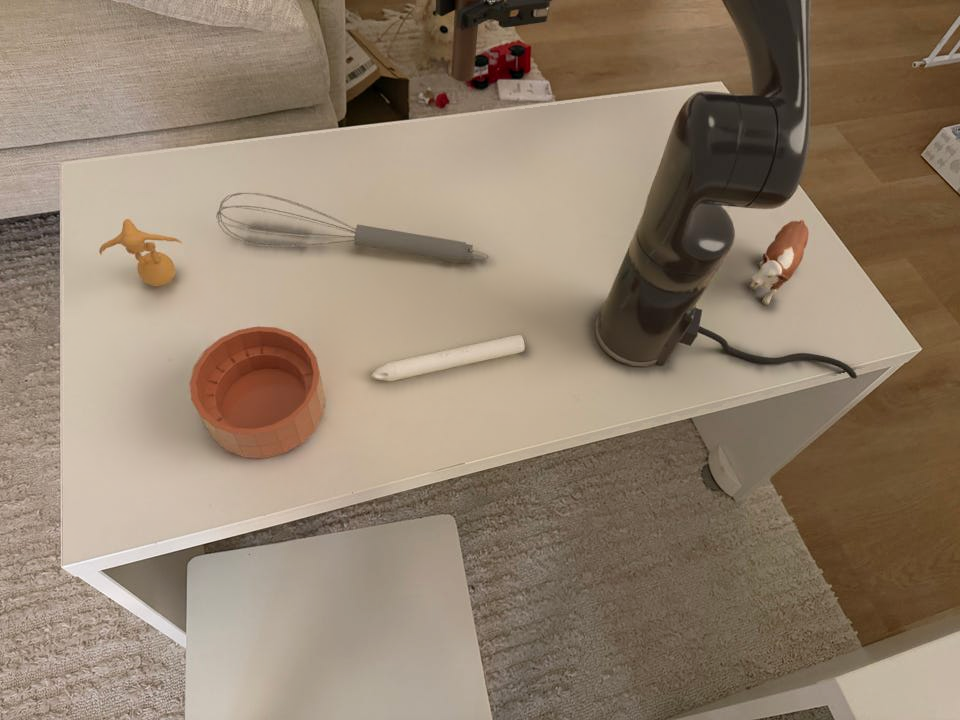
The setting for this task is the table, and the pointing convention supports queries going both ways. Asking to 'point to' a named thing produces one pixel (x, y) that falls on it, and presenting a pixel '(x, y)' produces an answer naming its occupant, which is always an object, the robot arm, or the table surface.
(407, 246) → the kitchen whisk
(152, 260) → the figurine
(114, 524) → the table surface
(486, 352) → the marker
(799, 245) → the bull figurine
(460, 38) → the stirring stick
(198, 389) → the bowl
